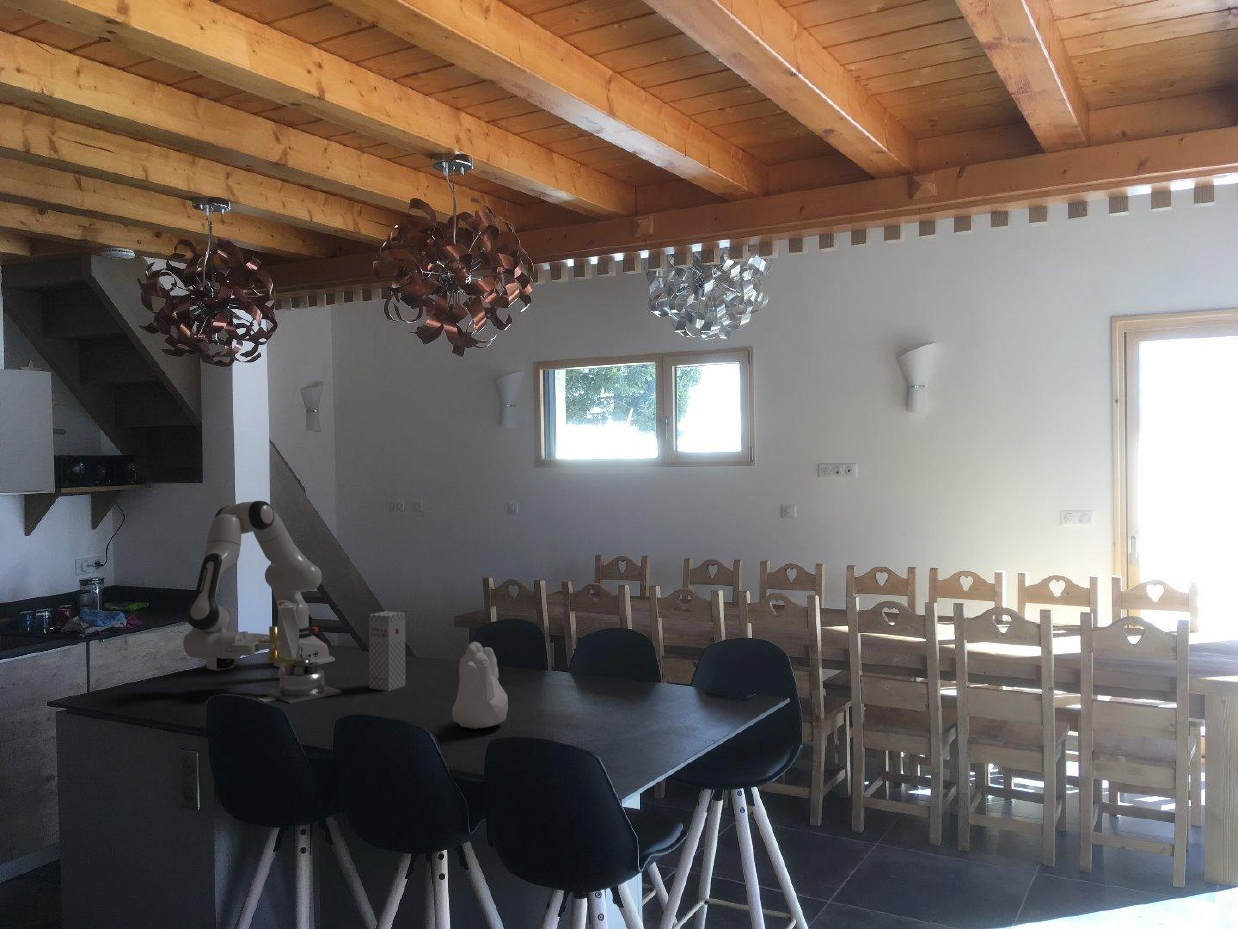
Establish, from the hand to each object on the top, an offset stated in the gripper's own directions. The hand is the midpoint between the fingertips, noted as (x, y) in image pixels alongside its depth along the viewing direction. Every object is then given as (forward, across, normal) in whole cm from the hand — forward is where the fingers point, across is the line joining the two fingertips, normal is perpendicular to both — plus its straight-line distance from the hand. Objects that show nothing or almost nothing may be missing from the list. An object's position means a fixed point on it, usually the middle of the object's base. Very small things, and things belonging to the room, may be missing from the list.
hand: (276, 644), depth 329 cm
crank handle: (+6, -3, +8) cm, 11 cm away
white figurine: (+75, -45, +16) cm, 89 cm away
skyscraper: (-2, +20, +16) cm, 25 cm away
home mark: (+1, -13, +16) cm, 20 cm away
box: (+36, +4, +16) cm, 40 cm away
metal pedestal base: (+10, -5, +16) cm, 19 cm away
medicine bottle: (-33, +38, +16) cm, 53 cm away
